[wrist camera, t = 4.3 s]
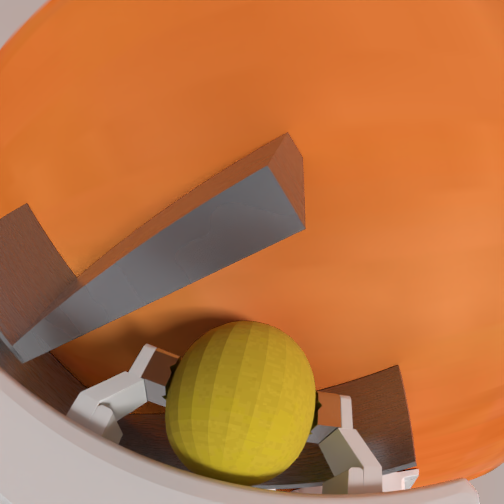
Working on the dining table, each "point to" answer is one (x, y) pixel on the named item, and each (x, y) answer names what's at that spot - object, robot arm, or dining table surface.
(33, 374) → the rail corridor
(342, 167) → the dining table surface
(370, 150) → the dining table surface
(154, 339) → the dining table surface
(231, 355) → the lemon
